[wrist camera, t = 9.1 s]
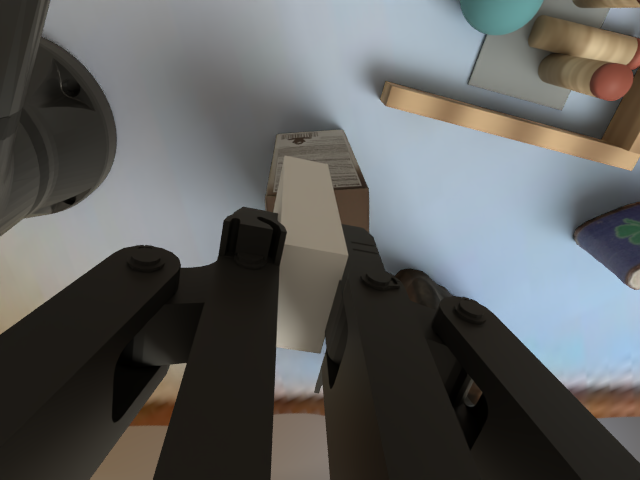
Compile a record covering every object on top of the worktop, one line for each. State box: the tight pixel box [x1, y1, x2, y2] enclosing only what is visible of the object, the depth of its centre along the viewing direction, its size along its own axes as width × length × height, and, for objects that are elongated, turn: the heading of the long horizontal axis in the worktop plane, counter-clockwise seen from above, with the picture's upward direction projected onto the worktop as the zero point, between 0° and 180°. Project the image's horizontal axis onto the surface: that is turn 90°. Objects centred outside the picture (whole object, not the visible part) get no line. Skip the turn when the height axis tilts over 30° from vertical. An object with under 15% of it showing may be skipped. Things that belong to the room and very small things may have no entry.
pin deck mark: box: [468, 0, 610, 110], centre depth 38 cm, size 9×12×1 cm
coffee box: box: [265, 130, 369, 233], centre depth 36 cm, size 9×6×16 cm
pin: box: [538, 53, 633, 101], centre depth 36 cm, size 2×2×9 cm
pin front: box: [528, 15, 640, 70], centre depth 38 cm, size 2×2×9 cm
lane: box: [380, 66, 640, 171], centre depth 36 cm, size 23×18×4 cm
